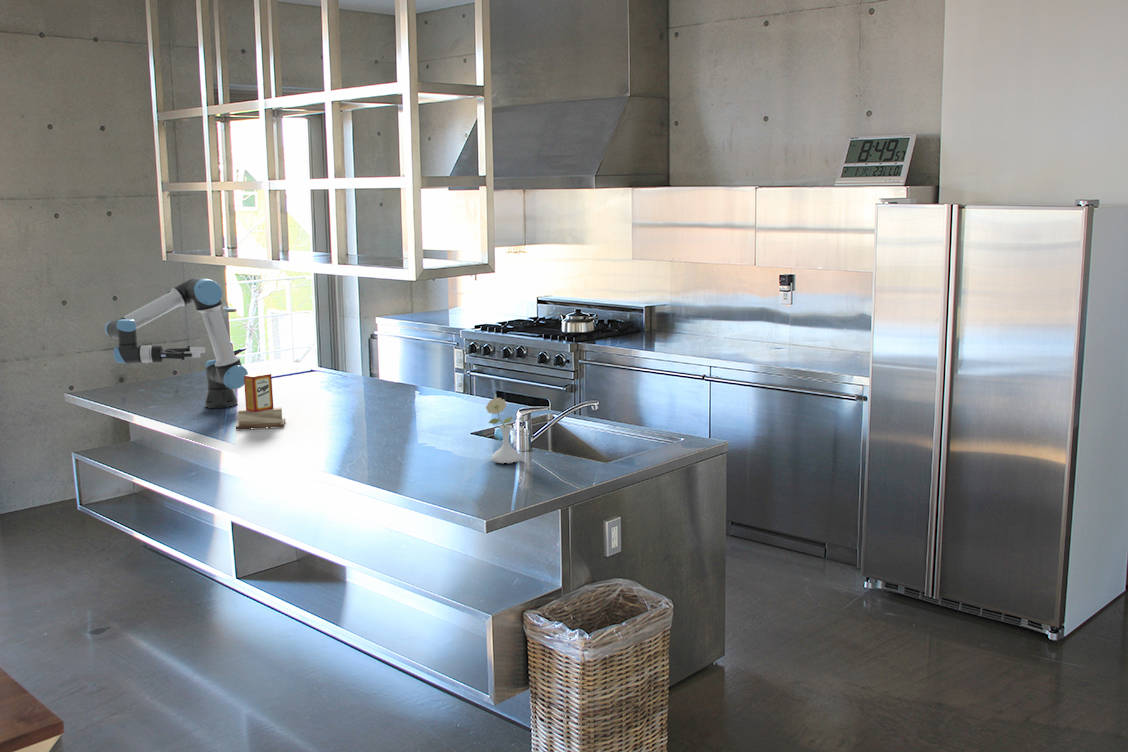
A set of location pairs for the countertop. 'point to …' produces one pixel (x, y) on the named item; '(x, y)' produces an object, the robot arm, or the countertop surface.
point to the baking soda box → (258, 392)
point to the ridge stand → (260, 419)
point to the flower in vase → (506, 451)
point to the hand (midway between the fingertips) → (202, 352)
